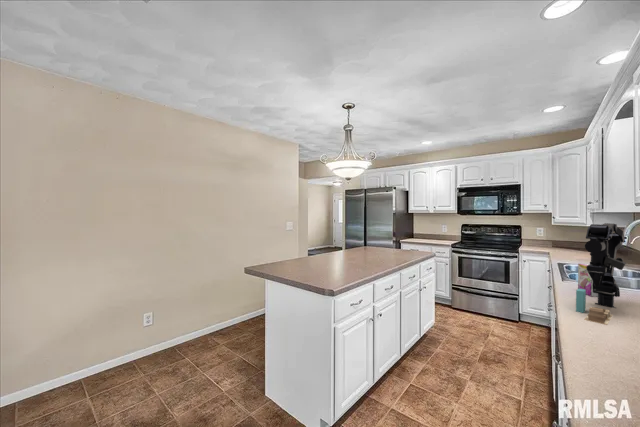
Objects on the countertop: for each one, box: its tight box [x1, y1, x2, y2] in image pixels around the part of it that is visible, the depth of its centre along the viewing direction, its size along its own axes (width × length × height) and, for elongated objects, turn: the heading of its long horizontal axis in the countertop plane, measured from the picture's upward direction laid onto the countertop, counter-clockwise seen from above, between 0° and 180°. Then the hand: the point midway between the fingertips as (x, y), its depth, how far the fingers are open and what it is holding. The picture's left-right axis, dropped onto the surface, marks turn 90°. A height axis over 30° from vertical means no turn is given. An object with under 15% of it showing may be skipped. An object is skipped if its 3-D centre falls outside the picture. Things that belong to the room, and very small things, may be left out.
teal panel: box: [575, 288, 587, 314], centre depth 132 cm, size 5×2×11 cm, turn 128°
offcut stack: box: [587, 306, 606, 324], centre depth 121 cm, size 5×5×4 cm
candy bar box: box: [577, 263, 598, 298], centre depth 162 cm, size 11×5×16 cm, turn 168°
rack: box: [584, 306, 613, 326], centre depth 124 cm, size 18×7×4 cm, turn 129°
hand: (598, 284), depth 133 cm, fingers open, 9 cm apart
